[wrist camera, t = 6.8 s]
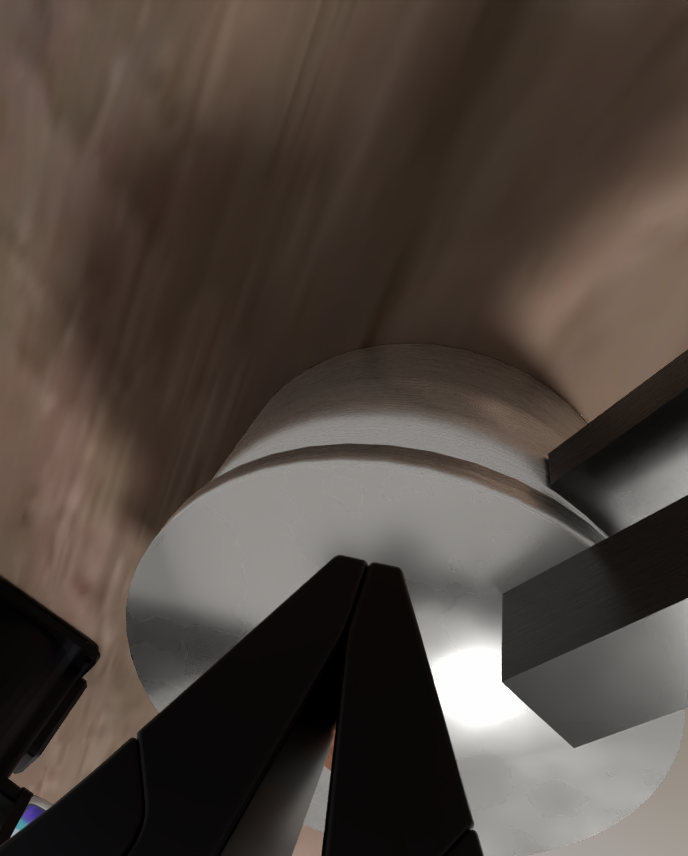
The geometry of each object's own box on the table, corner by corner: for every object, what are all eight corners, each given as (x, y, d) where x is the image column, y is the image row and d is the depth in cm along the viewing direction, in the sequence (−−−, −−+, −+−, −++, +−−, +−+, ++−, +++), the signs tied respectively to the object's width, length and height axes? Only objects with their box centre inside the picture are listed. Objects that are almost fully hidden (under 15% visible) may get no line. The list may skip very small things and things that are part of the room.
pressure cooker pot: (382, 725, 30) (353, 875, 24) (140, 544, 27) (47, 664, 22) (987, 385, 17) (1213, 538, 12) (632, -6, 15) (703, -46, 9)
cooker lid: (384, 866, 23) (365, 982, 20) (59, 614, 20) (-18, 707, 17) (1092, 650, 13) (1259, 819, 10) (650, 79, 10) (708, 85, 7)
